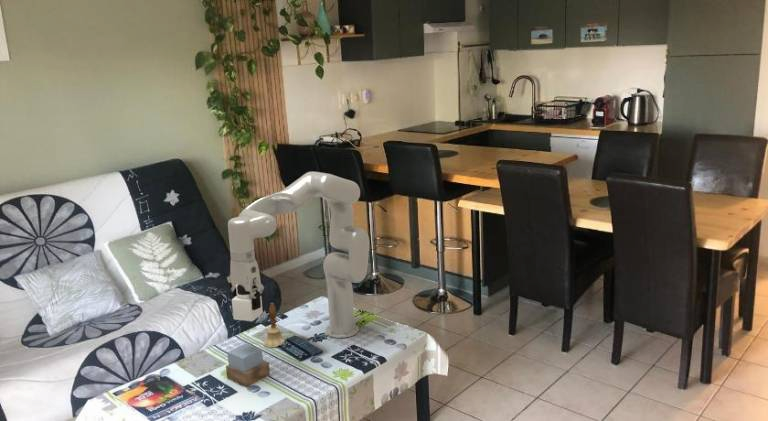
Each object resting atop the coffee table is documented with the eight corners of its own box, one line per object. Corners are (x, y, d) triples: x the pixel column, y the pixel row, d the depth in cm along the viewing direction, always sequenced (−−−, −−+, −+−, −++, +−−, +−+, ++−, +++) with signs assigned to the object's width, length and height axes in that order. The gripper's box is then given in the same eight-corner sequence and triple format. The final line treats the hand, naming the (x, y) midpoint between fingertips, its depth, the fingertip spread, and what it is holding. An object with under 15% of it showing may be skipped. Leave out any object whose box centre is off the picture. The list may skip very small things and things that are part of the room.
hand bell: (270, 337, 250) (267, 298, 246) (289, 339, 248) (286, 300, 244) (259, 346, 243) (255, 306, 239) (279, 349, 240) (276, 309, 236)
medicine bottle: (263, 313, 218) (260, 279, 215) (252, 321, 212) (249, 287, 209) (244, 311, 221) (241, 277, 218) (233, 319, 214) (229, 285, 211)
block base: (250, 367, 228) (249, 354, 227) (269, 375, 222) (268, 362, 221) (227, 379, 221) (225, 366, 219) (246, 388, 215) (245, 374, 213)
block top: (247, 356, 225) (246, 343, 224) (263, 362, 221) (261, 349, 219) (228, 365, 220) (227, 352, 218) (244, 372, 215) (242, 358, 213)
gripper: (269, 257, 208) (273, 307, 213) (234, 248, 219) (239, 296, 223) (251, 263, 203) (255, 315, 207) (216, 253, 213) (221, 303, 218)
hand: (247, 305), depth 215 cm, fingers closed on medicine bottle, 8 cm apart
